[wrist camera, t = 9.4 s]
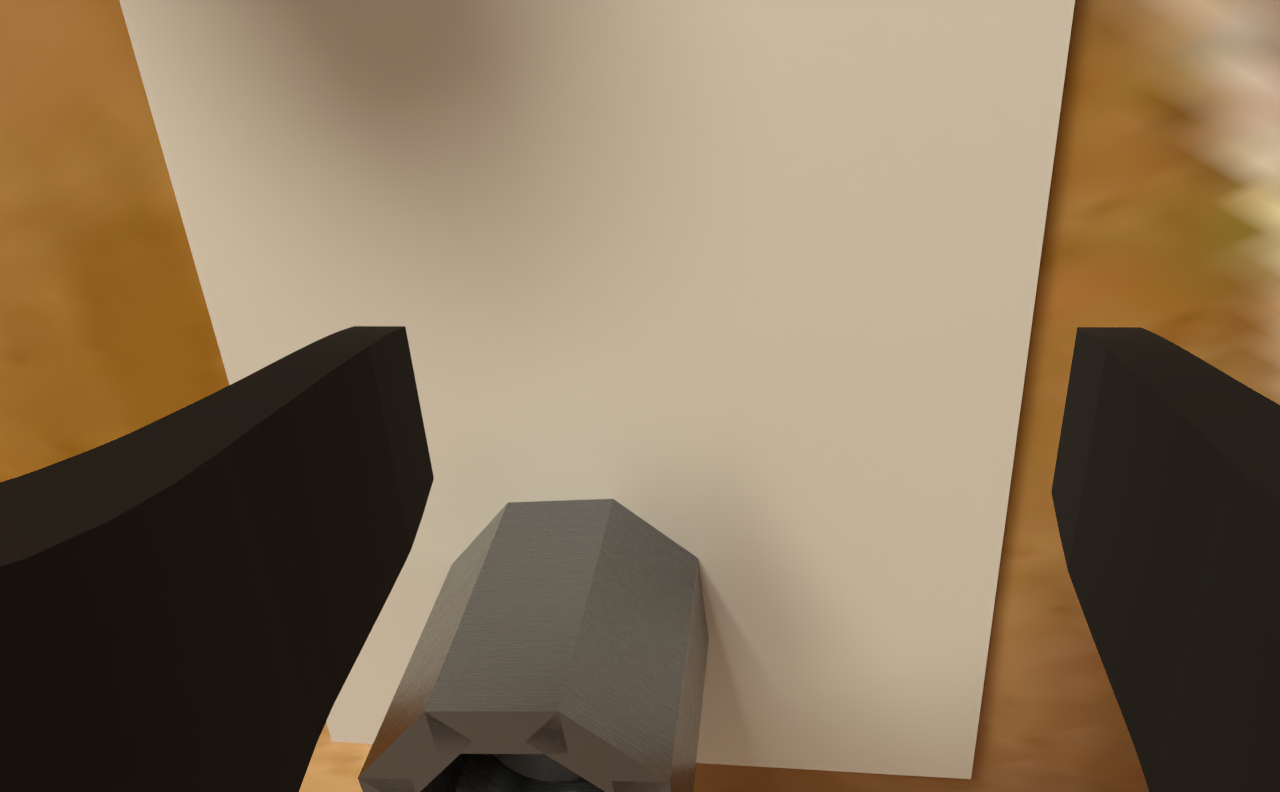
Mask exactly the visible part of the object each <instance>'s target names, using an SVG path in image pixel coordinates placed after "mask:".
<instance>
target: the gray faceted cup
mask: <svg viewBox="0 0 1280 792" xmlns="http://www.w3.org/2000/svg"><path fill="white" fill-rule="evenodd" d="M708 643H709V636H708V629H707V621H706V614H705V606H704V599H703V591H702V583H701V576H700V568H699V561H698V558H697V557H696V556H694V555H693V554H691V553H690V552H689V551H687V550H686V549H684V548H683V547H681V546H680V545H679V544H677V543H676V542H674V541H673V540H671V539H670V538H669V537H667V536H666V535H664V534H663V533H661V532H660V531H658V530H657V529H656V528H654V527H653V526H651V525H650V524H648V523H647V522H646V521H644V520H643V519H641V518H640V517H638V516H637V515H636V514H634V513H633V512H631V511H630V510H628V509H627V508H626V507H624V506H623V505H621V504H620V503H618V502H617V501H616V500H614V499H592V500H564V501H536V502H508V503H507V504H506V505H505V506H504V507H503V508H502V510H501V511H500V512H499V513H498V514H497V515H496V516H495V517H494V518H493V519H492V521H491V522H490V523H489V524H488V525H487V526H486V527H485V528H484V529H483V531H482V532H481V533H480V534H479V535H478V536H477V537H476V538H475V539H474V541H473V542H472V543H471V544H470V545H469V546H468V547H467V548H466V549H465V550H464V552H463V553H462V554H461V555H460V556H459V557H458V558H457V559H456V560H455V562H454V563H453V564H452V565H451V568H450V570H449V572H448V574H447V577H446V579H445V581H444V583H443V586H442V588H441V590H440V593H439V595H438V597H437V599H436V602H435V604H434V606H433V609H432V611H431V613H430V615H429V618H428V620H427V622H426V624H425V627H424V629H423V631H422V634H421V636H420V638H419V640H418V643H417V645H416V647H415V649H414V652H413V654H412V656H411V659H410V661H409V663H408V665H407V668H406V670H405V672H404V675H403V677H402V679H401V681H400V684H399V686H398V688H397V690H396V693H395V695H394V697H393V700H392V702H391V704H390V706H389V709H388V711H387V713H386V716H385V718H384V720H383V722H382V725H381V727H380V729H379V731H378V734H377V736H376V738H375V741H374V743H373V745H372V747H371V750H370V752H369V754H368V756H367V759H366V761H365V763H364V766H363V768H362V770H361V772H360V775H359V777H358V780H359V782H360V785H361V788H362V790H363V792H693V788H694V778H695V769H696V759H697V749H698V740H699V730H700V720H701V711H702V701H703V691H704V682H705V672H706V662H707V653H708ZM494 754H545V755H547V756H548V757H550V758H552V759H553V760H555V761H556V762H558V763H560V764H561V765H563V766H564V767H566V768H568V769H569V770H571V771H573V772H574V773H576V774H577V775H579V776H581V778H578V779H575V780H570V781H562V782H550V781H542V780H537V779H533V778H529V777H527V776H524V775H521V774H519V773H517V772H515V771H513V770H512V769H510V768H509V767H507V766H506V765H504V764H503V763H502V762H501V761H500V760H499V759H498V758H497V757H496V756H495V755H494Z"/></svg>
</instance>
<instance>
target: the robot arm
mask: <svg viewBox="0 0 1280 792" xmlns="http://www.w3.org/2000/svg"><path fill="white" fill-rule="evenodd" d="M433 480H434V476H433V471H432V466H431V460H430V455H429V450H428V445H427V439H426V434H425V429H424V423H423V418H422V413H421V407H420V402H419V397H418V391H417V386H416V381H415V375H414V370H413V365H412V359H411V354H410V349H409V343H408V338H407V333H406V328H405V326H353V327H350V328H347V329H344V330H341V331H338V332H336V333H333V334H331V335H329V336H326V337H324V338H322V339H320V340H318V341H315V342H313V343H311V344H309V345H307V346H305V347H303V348H301V349H299V350H297V351H295V352H293V353H291V354H289V355H287V356H285V357H283V358H281V359H279V360H278V361H276V362H274V363H272V364H270V365H268V366H266V367H264V368H262V369H260V370H258V371H256V372H254V373H252V374H250V375H249V376H247V377H245V378H243V379H241V380H239V381H237V382H235V383H233V384H231V385H229V386H227V387H225V388H223V389H221V390H220V391H218V392H216V393H214V394H212V395H210V396H208V397H205V398H203V399H201V400H199V401H197V402H195V403H193V404H191V405H189V406H187V407H185V408H182V409H180V410H178V411H176V412H174V413H172V414H170V415H168V416H166V417H164V418H161V419H159V420H157V421H155V422H153V423H151V424H149V425H147V426H145V427H143V428H140V429H138V430H136V431H134V432H132V433H130V434H127V435H125V436H123V437H120V438H118V439H116V440H114V441H111V442H109V443H106V444H104V445H101V446H99V447H97V448H94V449H92V450H89V451H87V452H84V453H82V454H79V455H76V456H74V457H71V458H68V459H66V460H63V461H61V462H58V463H55V464H53V465H50V466H47V467H45V468H42V469H39V470H37V471H34V472H31V473H28V474H25V475H22V476H20V477H17V478H14V479H10V480H7V481H4V482H1V483H0V792H299V789H300V787H301V784H302V781H303V778H304V776H305V773H306V770H307V768H308V765H309V762H310V759H311V757H312V754H313V751H314V749H315V746H316V743H317V741H318V738H319V736H320V734H321V732H322V729H323V727H324V725H325V723H326V721H327V718H328V716H329V714H330V712H331V709H332V707H333V705H334V703H335V701H336V699H337V697H338V695H339V693H340V691H341V689H342V687H343V685H344V683H345V681H346V679H347V677H348V675H349V673H350V671H351V669H352V667H353V665H354V663H355V662H356V660H357V658H358V656H359V654H360V652H361V650H362V648H363V646H364V644H365V642H366V640H367V638H368V636H369V634H370V632H371V630H372V628H373V626H374V624H375V622H376V620H377V618H378V616H379V614H380V612H381V610H382V608H383V606H384V604H385V602H386V600H387V598H388V596H389V594H390V592H391V590H392V588H393V586H394V584H395V582H396V580H397V578H398V576H399V574H400V572H401V570H402V568H403V566H404V564H405V562H406V560H407V557H408V555H409V553H410V551H411V549H412V546H413V543H414V540H415V537H416V534H417V531H418V528H419V525H420V522H421V520H422V516H423V513H424V510H425V506H426V503H427V500H428V496H429V493H430V490H431V486H432V483H433ZM1052 497H1053V502H1054V507H1055V512H1056V517H1057V522H1058V527H1059V532H1060V537H1061V542H1062V546H1063V550H1064V555H1065V559H1066V564H1067V568H1068V572H1069V574H1070V577H1071V580H1072V583H1073V586H1074V588H1075V591H1076V594H1077V596H1078V599H1079V602H1080V605H1081V607H1082V610H1083V613H1084V615H1085V618H1086V621H1087V623H1088V626H1089V629H1090V631H1091V634H1092V636H1093V639H1094V642H1095V644H1096V647H1097V650H1098V652H1099V655H1100V657H1101V660H1102V663H1103V665H1104V668H1105V670H1106V673H1107V676H1108V678H1109V681H1110V683H1111V686H1112V689H1113V691H1114V694H1115V696H1116V699H1117V702H1118V704H1119V707H1120V709H1121V712H1122V715H1123V717H1124V720H1125V722H1126V725H1127V728H1128V730H1129V733H1130V735H1131V738H1132V741H1133V743H1134V746H1135V749H1136V752H1137V755H1138V758H1139V761H1140V764H1141V767H1142V770H1143V773H1144V776H1145V779H1146V782H1147V785H1148V788H1149V792H1280V405H1278V404H1277V403H1275V402H1273V401H1271V400H1270V399H1268V398H1266V397H1264V396H1263V395H1261V394H1259V393H1257V392H1256V391H1254V390H1252V389H1251V388H1249V387H1247V386H1245V385H1244V384H1242V383H1240V382H1239V381H1237V380H1235V379H1234V378H1232V377H1230V376H1229V375H1227V374H1225V373H1223V372H1222V371H1220V370H1218V369H1217V368H1215V367H1213V366H1212V365H1210V364H1208V363H1207V362H1205V361H1203V360H1202V359H1200V358H1198V357H1196V356H1195V355H1193V354H1191V353H1190V352H1188V351H1186V350H1184V349H1183V348H1181V347H1179V346H1177V345H1175V344H1174V343H1172V342H1170V341H1168V340H1166V339H1164V338H1163V337H1161V336H1159V335H1156V334H1154V333H1152V332H1150V331H1148V330H1145V329H1143V328H1085V327H1078V328H1077V334H1076V340H1075V347H1074V353H1073V359H1072V366H1071V372H1070V378H1069V385H1068V391H1067V397H1066V404H1065V410H1064V416H1063V423H1062V429H1061V436H1060V442H1059V448H1058V455H1057V461H1056V467H1055V474H1054V480H1053V486H1052Z"/></svg>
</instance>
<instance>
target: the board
mask: <svg viewBox="0 0 1280 792" xmlns="http://www.w3.org/2000/svg"><path fill="white" fill-rule="evenodd" d="M119 1H120V4H121V8H122V11H123V15H124V18H125V22H126V25H127V29H128V32H129V36H130V39H131V43H132V46H133V50H134V53H135V57H136V60H137V64H138V67H139V70H140V74H141V77H142V81H143V84H144V88H145V91H146V95H147V98H148V102H149V105H150V109H151V112H152V116H153V119H154V123H155V126H156V130H157V133H158V137H159V140H160V144H161V147H162V151H163V154H164V158H165V161H166V165H167V168H168V172H169V175H170V179H171V182H172V186H173V189H174V193H175V196H176V199H177V203H178V206H179V210H180V213H181V217H182V220H183V224H184V227H185V231H186V234H187V238H188V241H189V245H190V248H191V252H192V255H193V259H194V262H195V266H196V269H197V273H198V276H199V280H200V283H201V287H202V290H203V294H204V297H205V301H206V304H207V308H208V311H209V315H210V318H211V321H212V325H213V328H214V332H215V335H216V339H217V342H218V346H219V349H220V353H221V356H222V360H223V363H224V367H225V370H226V374H227V377H228V381H229V384H230V385H231V384H233V383H235V382H237V381H239V380H241V379H243V378H245V377H247V376H249V375H250V374H252V373H254V372H256V371H258V370H260V369H262V368H264V367H266V366H268V365H270V364H272V363H274V362H276V361H278V360H279V359H281V358H283V357H285V356H287V355H289V354H291V353H293V352H295V351H297V350H299V349H301V348H303V347H305V346H307V345H309V344H311V343H313V342H315V341H318V340H320V339H322V338H324V337H326V336H329V335H331V334H333V333H336V332H338V331H341V330H344V329H347V328H350V327H353V326H405V328H406V333H407V338H408V343H409V349H410V354H411V359H412V365H413V370H414V375H415V381H416V386H417V391H418V397H419V402H420V407H421V413H422V418H423V423H424V429H425V434H426V439H427V445H428V450H429V455H430V460H431V466H432V471H433V476H434V480H433V483H432V486H431V490H430V493H429V496H428V500H427V503H426V506H425V510H424V513H423V516H422V520H421V522H420V525H419V528H418V531H417V534H416V537H415V540H414V543H413V546H412V549H411V551H410V553H409V555H408V557H407V560H406V562H405V564H404V566H403V568H402V570H401V572H400V574H399V576H398V578H397V580H396V582H395V584H394V586H393V588H392V590H391V592H390V594H389V596H388V598H387V600H386V602H385V604H384V606H383V608H382V610H381V612H380V614H379V616H378V618H377V620H376V622H375V624H374V626H373V628H372V630H371V632H370V634H369V636H368V638H367V640H366V642H365V644H364V646H363V648H362V650H361V652H360V654H359V656H358V658H357V660H356V662H355V663H354V665H353V667H352V669H351V671H350V673H349V675H348V677H347V679H346V681H345V683H344V685H343V687H342V689H341V691H340V693H339V695H338V697H337V699H336V701H335V703H334V705H333V707H332V709H331V712H330V714H329V716H328V718H327V721H326V722H327V726H328V729H329V733H330V736H331V740H332V742H349V743H366V744H373V743H374V741H375V738H376V736H377V734H378V731H379V729H380V727H381V725H382V722H383V720H384V718H385V716H386V713H387V711H388V709H389V706H390V704H391V702H392V700H393V697H394V695H395V693H396V690H397V688H398V686H399V684H400V681H401V679H402V677H403V675H404V672H405V670H406V668H407V665H408V663H409V661H410V659H411V656H412V654H413V652H414V649H415V647H416V645H417V643H418V640H419V638H420V636H421V634H422V631H423V629H424V627H425V624H426V622H427V620H428V618H429V615H430V613H431V611H432V609H433V606H434V604H435V602H436V599H437V597H438V595H439V593H440V590H441V588H442V586H443V583H444V581H445V579H446V577H447V574H448V572H449V570H450V568H451V565H452V564H453V563H454V562H455V560H456V559H457V558H458V557H459V556H460V555H461V554H462V553H463V552H464V550H465V549H466V548H467V547H468V546H469V545H470V544H471V543H472V542H473V541H474V539H475V538H476V537H477V536H478V535H479V534H480V533H481V532H482V531H483V529H484V528H485V527H486V526H487V525H488V524H489V523H490V522H491V521H492V519H493V518H494V517H495V516H496V515H497V514H498V513H499V512H500V511H501V510H502V508H503V507H504V506H505V505H506V504H507V503H508V502H536V501H564V500H592V499H614V500H616V501H617V502H618V503H620V504H621V505H623V506H624V507H626V508H627V509H628V510H630V511H631V512H633V513H634V514H636V515H637V516H638V517H640V518H641V519H643V520H644V521H646V522H647V523H648V524H650V525H651V526H653V527H654V528H656V529H657V530H658V531H660V532H661V533H663V534H664V535H666V536H667V537H669V538H670V539H671V540H673V541H674V542H676V543H677V544H679V545H680V546H681V547H683V548H684V549H686V550H687V551H689V552H690V553H691V554H693V555H694V556H696V557H697V558H698V561H699V568H700V576H701V583H702V591H703V599H704V606H705V614H706V621H707V629H708V636H709V643H708V653H707V662H706V672H705V682H704V691H703V701H702V711H701V720H700V730H699V740H698V749H697V759H696V763H705V764H722V765H739V766H756V767H773V768H789V769H806V770H823V771H840V772H857V773H874V774H891V775H908V776H925V777H942V778H959V779H971V775H972V768H973V760H974V753H975V745H976V738H977V730H978V723H979V715H980V708H981V700H982V693H983V685H984V678H985V671H986V663H987V656H988V648H989V641H990V633H991V626H992V618H993V611H994V603H995V596H996V588H997V581H998V573H999V566H1000V558H1001V551H1002V543H1003V536H1004V528H1005V521H1006V513H1007V506H1008V499H1009V491H1010V484H1011V476H1012V469H1013V461H1014V454H1015V446H1016V439H1017V431H1018V424H1019V416H1020V409H1021V401H1022V394H1023V386H1024V379H1025V371H1026V364H1027V356H1028V349H1029V341H1030V334H1031V327H1032V319H1033V312H1034V304H1035V297H1036V289H1037V282H1038V274H1039V267H1040V259H1041V252H1042V244H1043V237H1044V229H1045V222H1046V214H1047V207H1048V199H1049V192H1050V184H1051V177H1052V169H1053V162H1054V155H1055V147H1056V140H1057V132H1058V125H1059V117H1060V110H1061V102H1062V95H1063V87H1064V80H1065V72H1066V65H1067V57H1068V50H1069V42H1070V35H1071V27H1072V20H1073V12H1074V5H1075V0H119Z"/></svg>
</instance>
